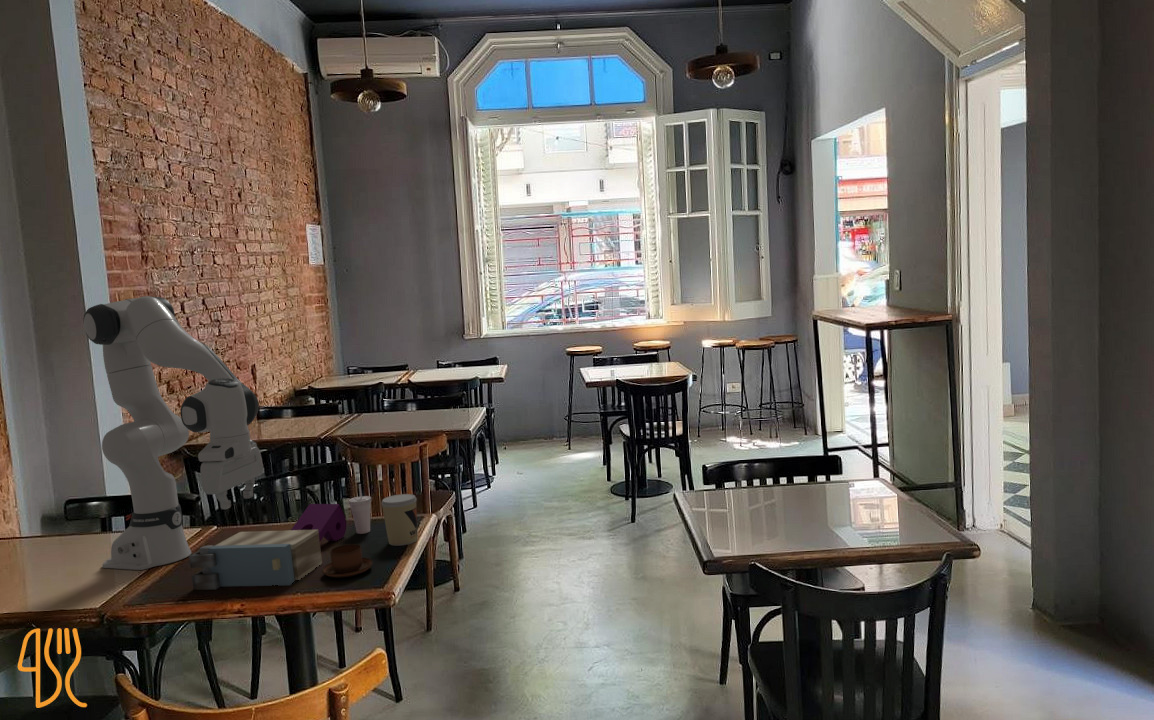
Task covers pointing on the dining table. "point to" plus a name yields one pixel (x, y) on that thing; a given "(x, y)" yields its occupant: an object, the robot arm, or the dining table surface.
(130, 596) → the dining table surface
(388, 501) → the coffee cup
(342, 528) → the mounting bracket
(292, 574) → the door
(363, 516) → the smoothie
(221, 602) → the dining table surface
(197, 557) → the cabinet
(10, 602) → the dining table surface
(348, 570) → the cup and saucer
